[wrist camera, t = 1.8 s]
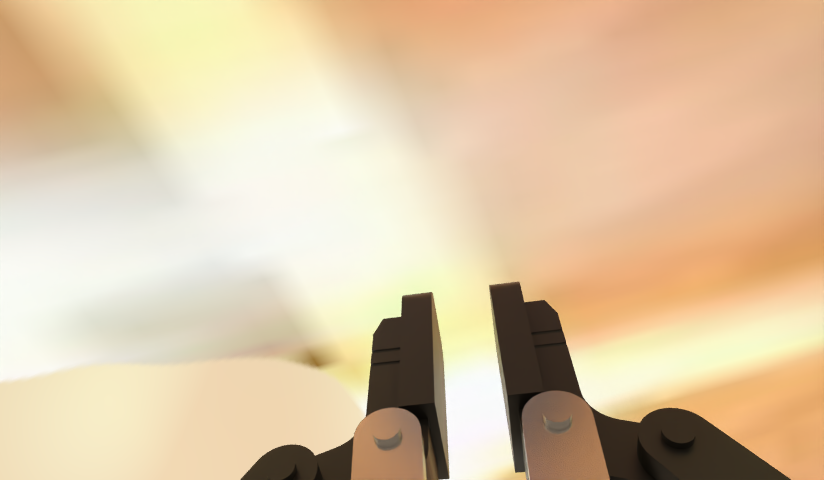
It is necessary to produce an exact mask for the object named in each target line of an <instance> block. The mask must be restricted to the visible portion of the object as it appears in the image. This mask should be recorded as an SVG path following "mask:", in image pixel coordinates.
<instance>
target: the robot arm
mask: <svg viewBox="0 0 824 480" xmlns="http://www.w3.org/2000/svg"><path fill="white" fill-rule="evenodd" d="M489 290H490V299H491V307H492V316H493V325H494V334H495V342H496V350H497V357H498V363H499V370H500V376H501V383H502V389H503V396H504V402H505V409H506V415H507V422H508V428H509V435H510V441H511V448H512V454H513V461H514V467H515V473H516V472H525V473H526V479H527V480H791V479H789V478H788V477H787V476H785V475H784V474H782V473H781V472H779V471H778V470H777V469H775V468H774V467H772V466H771V465H769V464H768V463H767V462H765V461H764V460H762V459H761V458H759V457H758V456H757V455H755V454H754V453H752V452H751V451H749V450H748V449H747V448H745V447H744V446H742V445H741V444H739V443H738V442H736V441H735V440H734V439H732V438H731V437H729V436H728V435H726V434H725V433H724V432H722V431H721V430H719V429H718V428H716V427H715V426H714V425H712V424H711V423H709V422H708V421H706V420H705V419H704V418H702V417H700V416H699V415H697V414H695V413H693V412H690V411H687V410H683V409H678V408H663V409H658V410H655V411H653V412H651V413H649V414H648V415H646V416H645V417H644V418H643V419H642V421H641V422H640V423H637V422H631V421H625V420H619V419H615V418H611V417H608V416H605V415H603V414H601V413H599V412H598V411H596V410H595V409H593V408H592V407H591V406H590V405H589V404H588V403H587V402H586V401H585V399H584V398H583V396H582V394H581V391H580V388H579V384H578V381H577V377H576V374H575V371H574V367H573V364H572V361H571V357H570V354H569V350H568V347H567V345H566V340H565V337H564V333H563V331H562V327H561V323H560V320H559V317H558V313H557V312H556V311H555V310H554V309H553V308H552V307H551V306H550V305H549V304H548V303H547V302H546V301H545V300H541V301H533V302H524V299H523V295H522V291H521V286H520V283H519V282H512V283H504V284H496V285H489ZM440 479H449V460H448V440H447V420H446V400H445V379H444V361H443V352H442V344H441V338H440V332H439V326H438V320H437V315H436V309H435V303H434V298H433V293H432V292H429V293H421V294H412V295H404V296H402V313H401V317H396V318H387V319H383V320H382V322H381V323H380V325H379V326H378V328H377V330H376V331H375V333H374V334H373V345H372V356H371V368H370V379H369V390H368V401H367V412H366V417H365V418H364V419H363V420H362V421H361V422H360V424H359V425H358V427H357V428H356V431H355V433H354V437H353V438H352V439H351V440H349V441H348V442H346V443H344V444H343V445H341V446H339V447H336V448H334V449H331V450H329V451H326V452H324V453H321V454H318V455H316V456H315V455H314V454H313V452H311V451H310V450H309V449H308V448H306V447H303V446H300V445H284V446H281V447H278V448H275V449H273V450H271V451H269V452H268V453H266V454H265V455H264V456H262V457H261V458H260V459H259V460H258V461H257V462H256V463H255V464H254V465H253V466H252V468H251V469H250V470H249V471H248V472H247V473H246V474H245V475H244V476H243V477H242V478H241V480H440Z"/></svg>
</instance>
